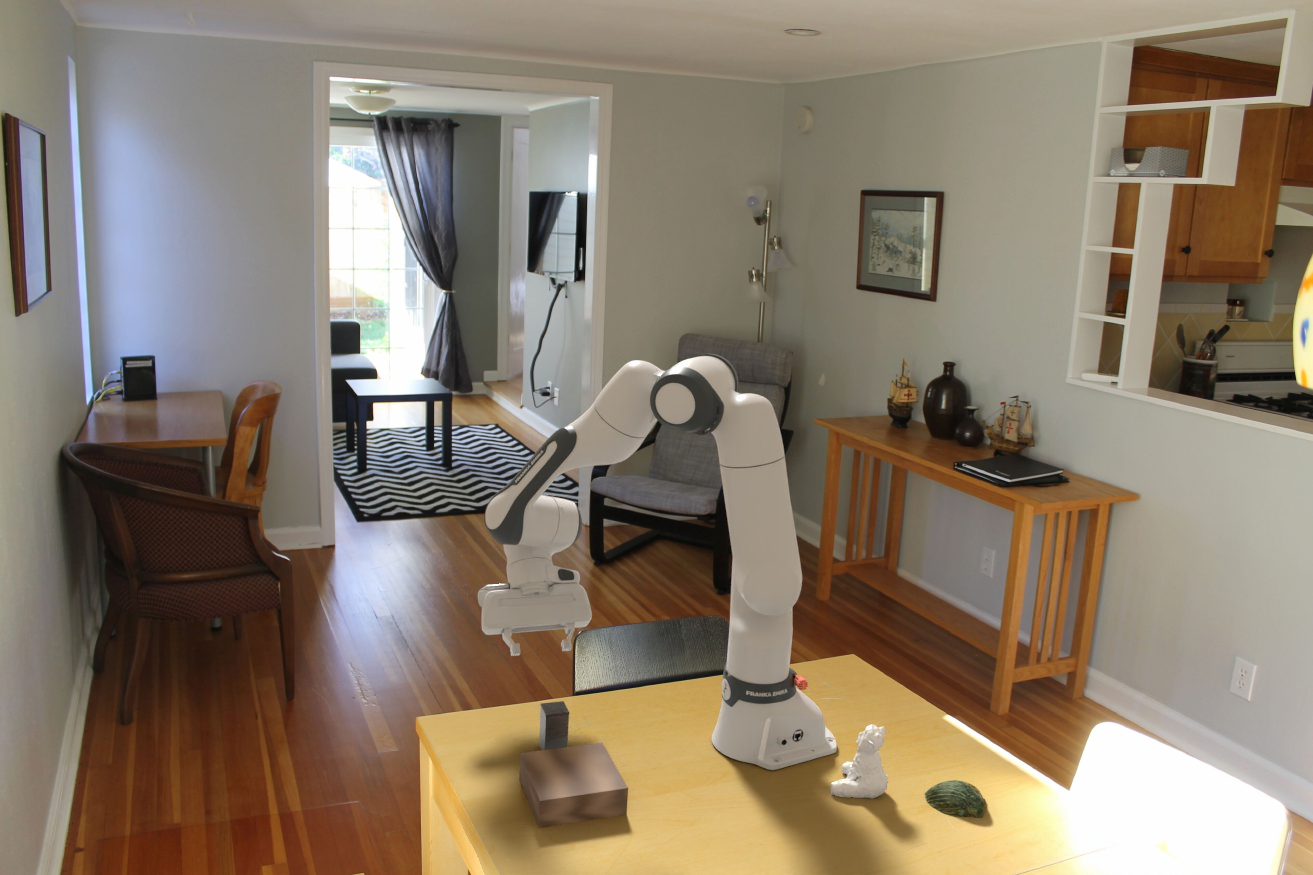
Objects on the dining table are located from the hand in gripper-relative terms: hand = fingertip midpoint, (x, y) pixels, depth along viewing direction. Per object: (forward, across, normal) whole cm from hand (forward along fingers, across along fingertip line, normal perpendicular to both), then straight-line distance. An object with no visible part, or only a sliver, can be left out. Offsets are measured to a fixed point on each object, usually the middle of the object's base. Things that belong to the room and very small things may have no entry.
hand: (541, 652), depth 182 cm
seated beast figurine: (+34, +47, -15) cm, 60 cm away
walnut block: (+28, 0, -8) cm, 29 cm away
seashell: (+40, +61, -20) cm, 75 cm away
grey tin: (+17, 0, +2) cm, 17 cm away
